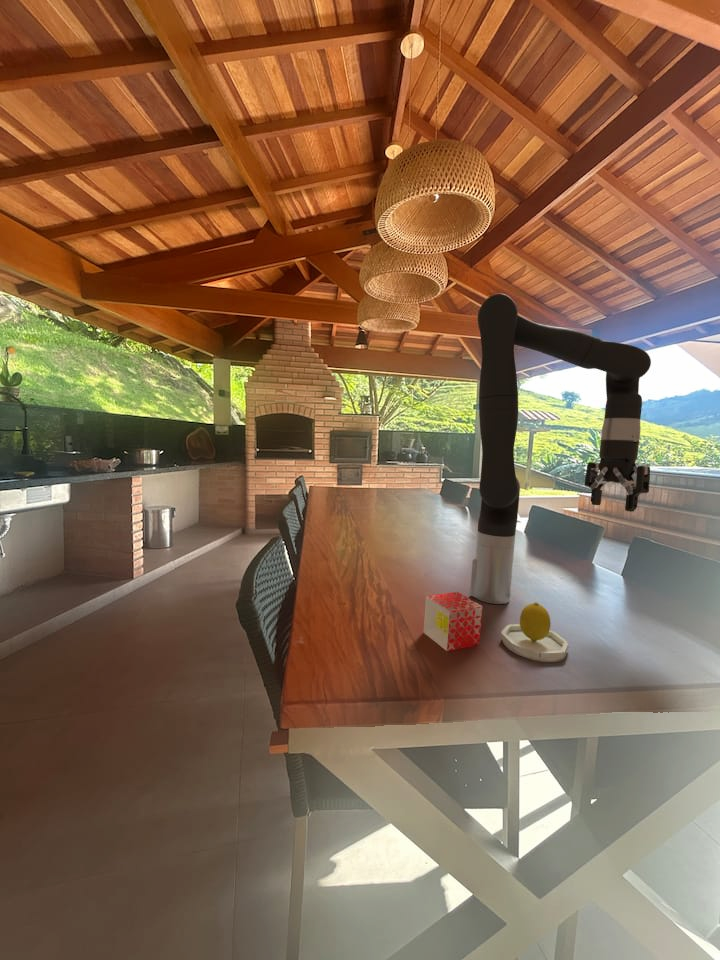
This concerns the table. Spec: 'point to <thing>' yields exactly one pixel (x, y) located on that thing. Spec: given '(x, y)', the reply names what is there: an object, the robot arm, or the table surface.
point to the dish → (534, 645)
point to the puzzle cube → (452, 620)
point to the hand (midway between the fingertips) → (612, 508)
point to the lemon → (535, 622)
